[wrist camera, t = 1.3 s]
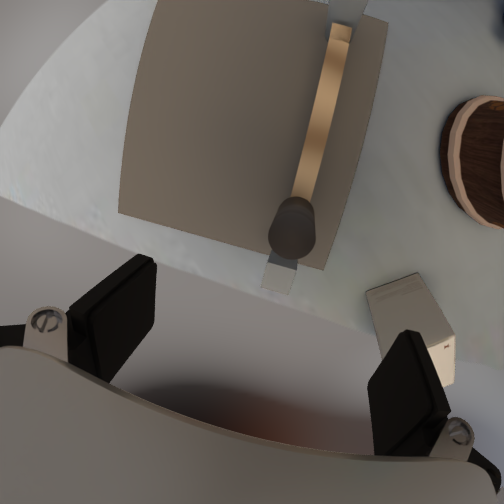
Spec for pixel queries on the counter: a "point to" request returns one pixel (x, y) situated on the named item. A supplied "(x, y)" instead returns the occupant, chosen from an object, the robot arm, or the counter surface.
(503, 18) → the counter surface
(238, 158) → the taupe mat
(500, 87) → the counter surface
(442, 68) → the counter surface
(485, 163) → the mug
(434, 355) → the supplement box
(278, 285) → the gate frame
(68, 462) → the robot arm
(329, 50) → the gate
